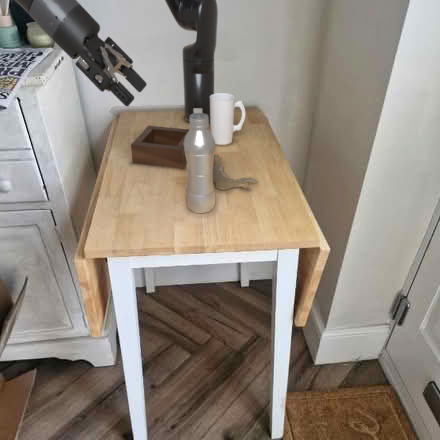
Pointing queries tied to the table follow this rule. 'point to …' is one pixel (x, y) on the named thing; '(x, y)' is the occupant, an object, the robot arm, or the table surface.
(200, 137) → the silver metal bottle
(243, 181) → the jawbone
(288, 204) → the table surface
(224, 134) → the mug
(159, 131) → the bottle holder
